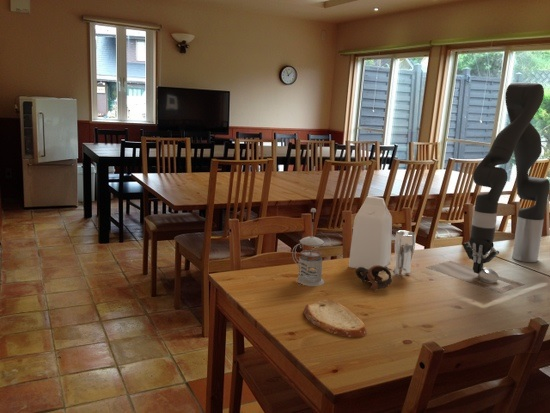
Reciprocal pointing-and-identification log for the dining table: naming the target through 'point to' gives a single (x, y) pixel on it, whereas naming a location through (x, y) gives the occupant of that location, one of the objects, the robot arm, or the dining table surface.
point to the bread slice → (335, 318)
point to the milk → (371, 235)
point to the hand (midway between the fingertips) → (477, 272)
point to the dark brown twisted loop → (374, 277)
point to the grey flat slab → (470, 275)
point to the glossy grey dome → (487, 275)
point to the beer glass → (404, 252)
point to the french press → (310, 261)
